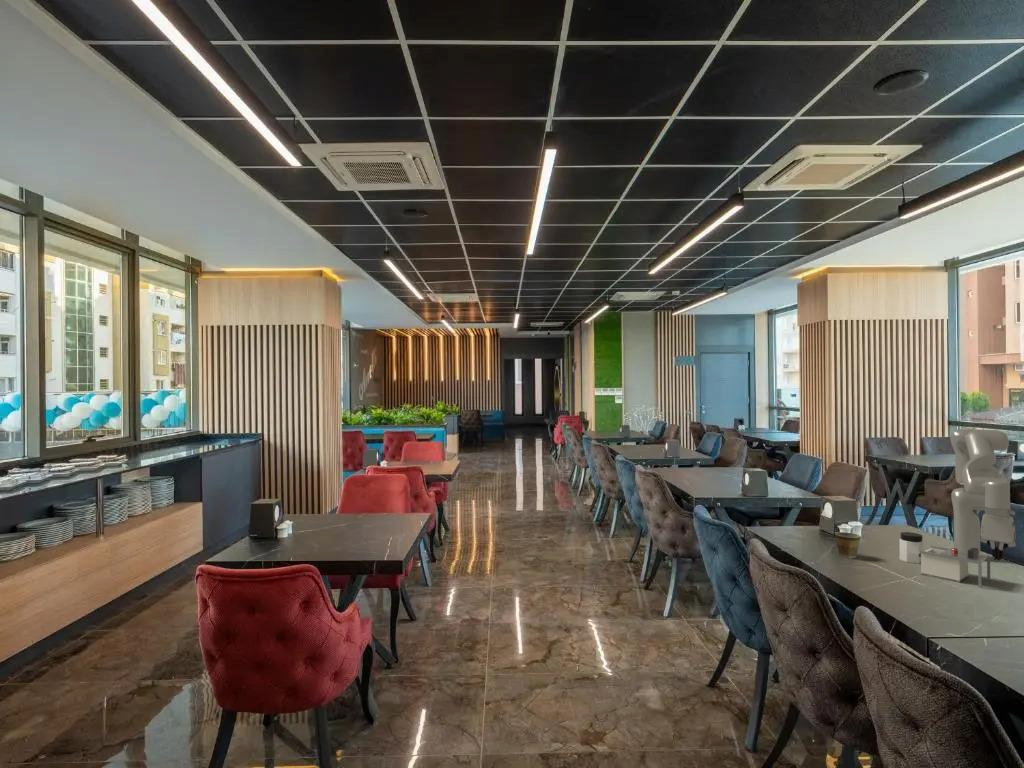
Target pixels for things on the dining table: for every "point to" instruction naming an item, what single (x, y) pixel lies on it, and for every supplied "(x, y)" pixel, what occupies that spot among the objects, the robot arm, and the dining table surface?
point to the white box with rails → (948, 566)
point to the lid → (966, 554)
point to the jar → (910, 547)
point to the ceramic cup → (847, 544)
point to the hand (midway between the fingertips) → (997, 559)
